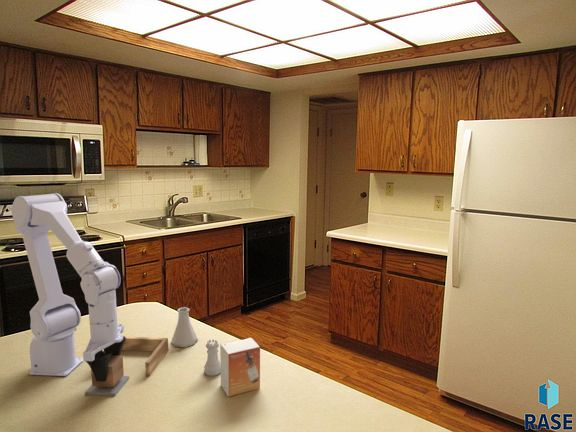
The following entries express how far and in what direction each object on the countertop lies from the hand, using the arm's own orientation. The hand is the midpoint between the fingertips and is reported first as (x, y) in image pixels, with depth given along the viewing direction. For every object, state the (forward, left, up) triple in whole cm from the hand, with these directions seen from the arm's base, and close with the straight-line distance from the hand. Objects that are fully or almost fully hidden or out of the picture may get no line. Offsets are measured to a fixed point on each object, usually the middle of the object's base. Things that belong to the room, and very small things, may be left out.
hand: (107, 374), depth 93 cm
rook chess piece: (+23, +8, -3) cm, 25 cm away
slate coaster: (0, 0, -3) cm, 3 cm away
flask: (+11, +23, -3) cm, 26 cm away
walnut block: (0, 0, -2) cm, 2 cm away
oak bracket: (+1, +11, -3) cm, 11 cm away
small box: (+31, +2, -3) cm, 31 cm away
